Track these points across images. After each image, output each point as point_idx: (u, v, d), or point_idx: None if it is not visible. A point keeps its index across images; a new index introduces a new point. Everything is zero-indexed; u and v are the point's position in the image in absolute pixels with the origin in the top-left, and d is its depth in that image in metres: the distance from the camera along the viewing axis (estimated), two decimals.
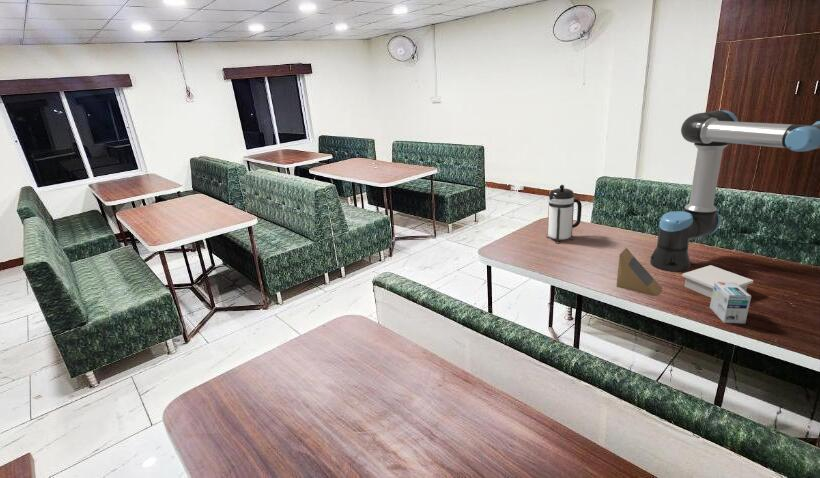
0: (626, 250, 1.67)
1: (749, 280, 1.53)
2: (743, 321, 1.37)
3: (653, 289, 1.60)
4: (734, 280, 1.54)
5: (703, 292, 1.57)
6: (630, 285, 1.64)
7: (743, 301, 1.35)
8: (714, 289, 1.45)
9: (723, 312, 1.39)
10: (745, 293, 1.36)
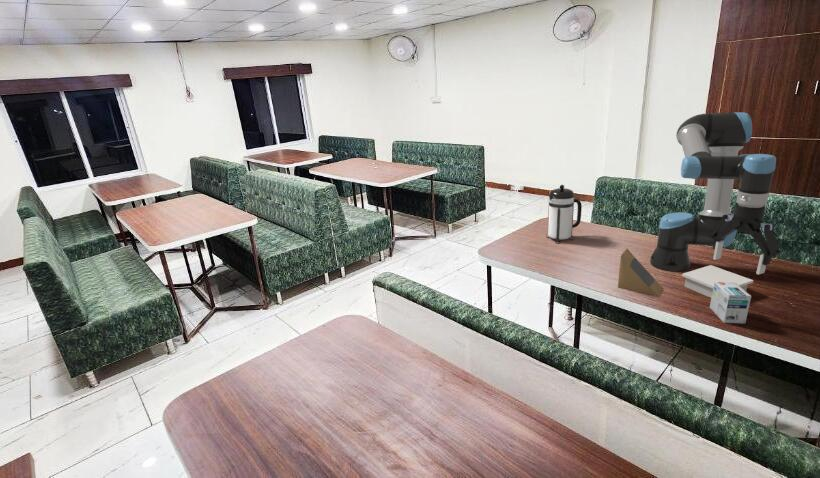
0: (627, 251, 1.66)
1: (749, 280, 1.53)
2: (743, 321, 1.37)
3: (655, 290, 1.59)
4: (734, 280, 1.54)
5: (703, 292, 1.57)
6: (632, 286, 1.63)
7: (743, 301, 1.35)
8: (714, 289, 1.45)
9: (723, 312, 1.39)
10: (745, 293, 1.36)
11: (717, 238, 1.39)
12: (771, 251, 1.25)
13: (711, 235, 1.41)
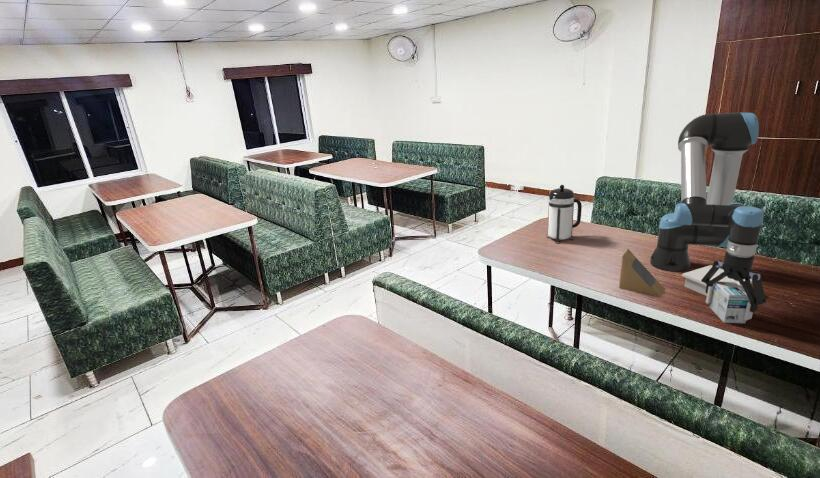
0: (628, 251, 1.66)
1: None
2: (743, 321, 1.37)
3: (656, 290, 1.59)
4: (734, 280, 1.54)
5: (703, 292, 1.57)
6: (633, 286, 1.63)
7: (743, 301, 1.35)
8: (714, 289, 1.45)
9: (723, 312, 1.39)
10: (745, 293, 1.36)
11: (709, 283, 1.45)
12: (757, 300, 1.31)
13: (704, 280, 1.47)
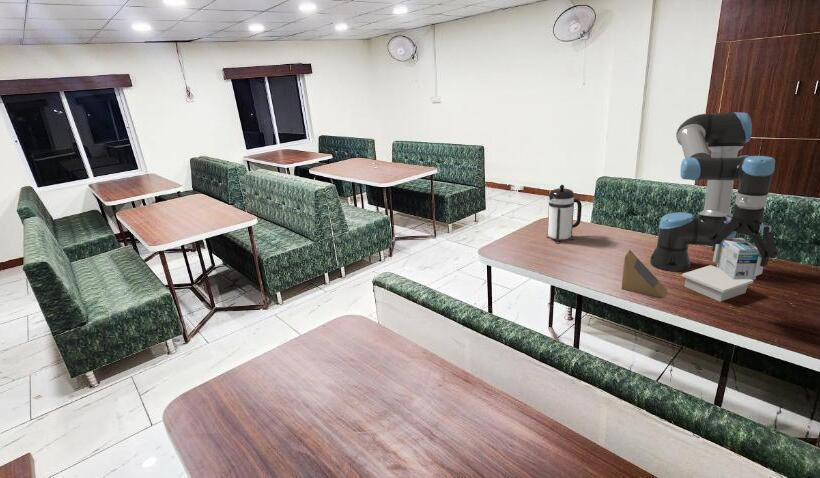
0: (630, 252, 1.65)
1: (749, 280, 1.53)
2: (753, 277, 1.32)
3: (659, 291, 1.58)
4: (734, 280, 1.54)
5: (703, 292, 1.57)
6: (636, 287, 1.62)
7: (753, 255, 1.30)
8: (722, 246, 1.40)
9: (732, 268, 1.34)
10: (755, 247, 1.31)
11: (717, 240, 1.40)
12: (769, 253, 1.26)
13: (710, 237, 1.42)
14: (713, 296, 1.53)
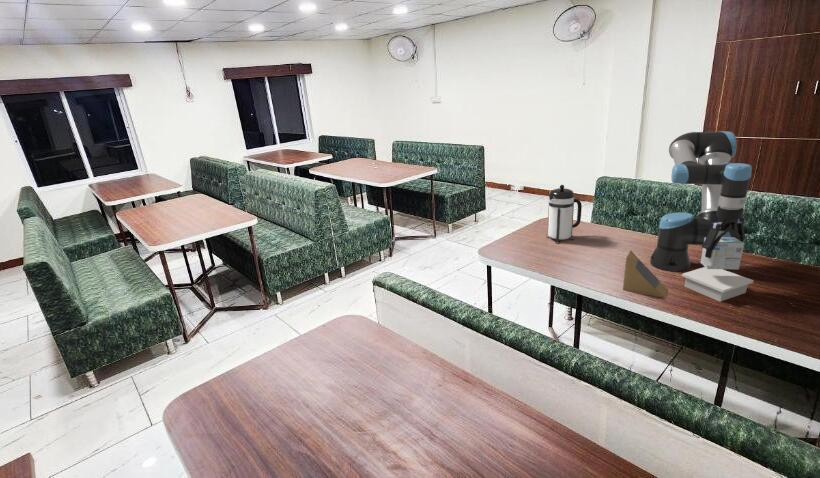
0: (631, 252, 1.64)
1: (749, 280, 1.53)
2: None
3: (661, 291, 1.58)
4: (734, 280, 1.54)
5: (703, 292, 1.57)
6: (637, 288, 1.62)
7: None
8: (714, 249, 1.51)
9: (735, 261, 1.51)
10: (731, 238, 1.54)
11: (714, 246, 1.50)
12: (743, 236, 1.54)
13: (710, 247, 1.49)
14: (713, 296, 1.53)
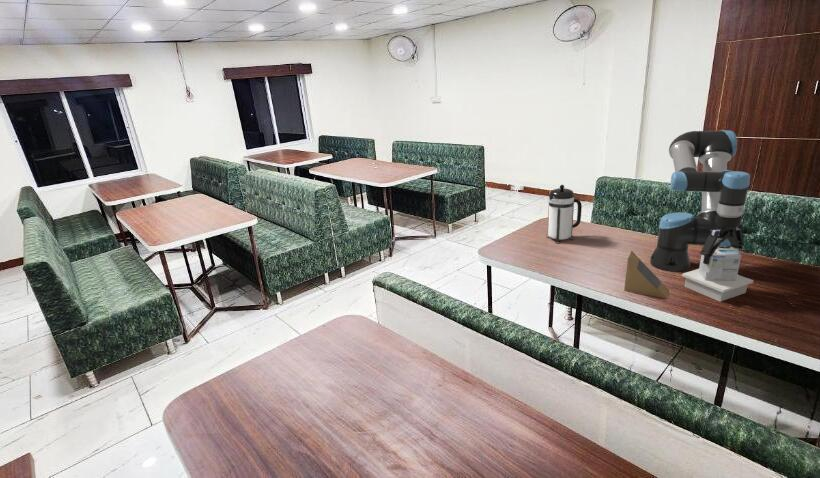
0: (632, 253, 1.64)
1: (749, 280, 1.53)
2: None
3: (662, 292, 1.58)
4: (734, 280, 1.54)
5: (703, 292, 1.57)
6: (639, 288, 1.61)
7: None
8: (712, 261, 1.53)
9: (733, 272, 1.53)
10: (729, 249, 1.55)
11: (712, 253, 1.50)
12: (742, 243, 1.55)
13: (708, 253, 1.50)
14: (713, 296, 1.53)
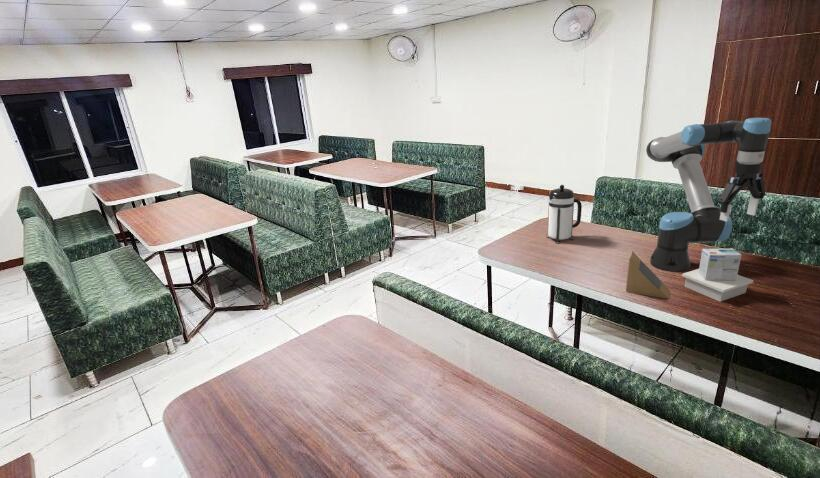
0: (633, 254, 1.63)
1: (749, 280, 1.53)
2: None
3: (664, 292, 1.57)
4: (734, 280, 1.54)
5: (703, 292, 1.57)
6: (641, 289, 1.60)
7: None
8: (712, 261, 1.53)
9: (733, 272, 1.53)
10: (729, 249, 1.55)
11: (730, 201, 1.51)
12: (763, 193, 1.54)
13: (726, 201, 1.50)
14: (713, 296, 1.53)
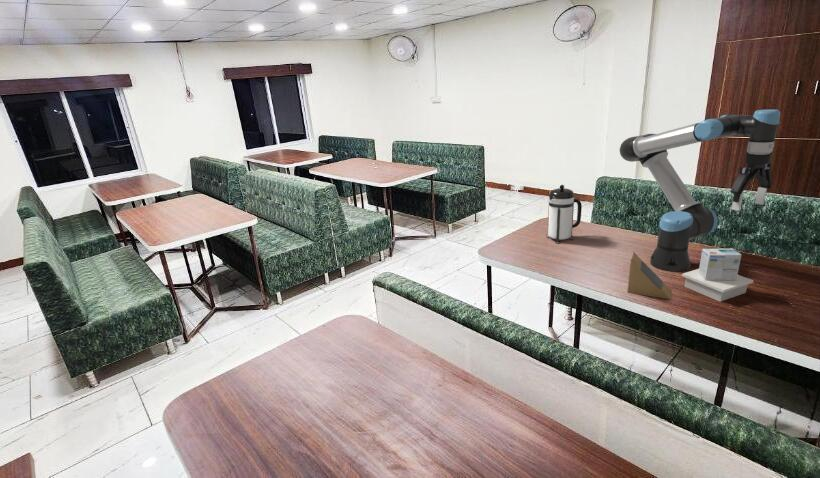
0: (634, 254, 1.63)
1: (749, 280, 1.53)
2: None
3: (666, 293, 1.57)
4: (734, 280, 1.54)
5: (703, 292, 1.57)
6: (642, 290, 1.60)
7: None
8: (712, 261, 1.53)
9: (733, 272, 1.53)
10: (729, 249, 1.55)
11: (742, 191, 1.55)
12: (770, 182, 1.60)
13: (739, 190, 1.54)
14: (713, 296, 1.53)
